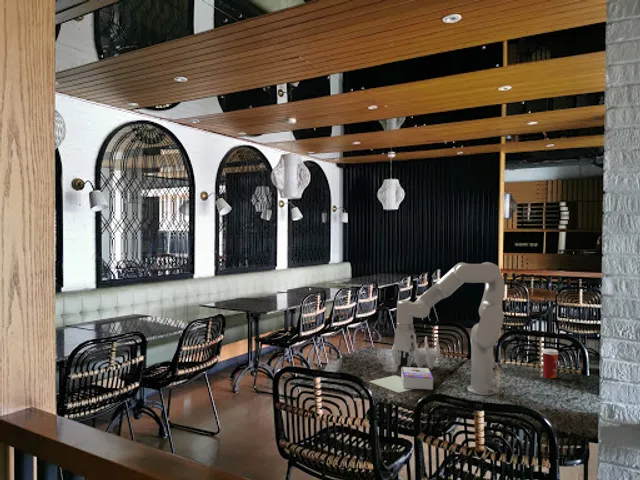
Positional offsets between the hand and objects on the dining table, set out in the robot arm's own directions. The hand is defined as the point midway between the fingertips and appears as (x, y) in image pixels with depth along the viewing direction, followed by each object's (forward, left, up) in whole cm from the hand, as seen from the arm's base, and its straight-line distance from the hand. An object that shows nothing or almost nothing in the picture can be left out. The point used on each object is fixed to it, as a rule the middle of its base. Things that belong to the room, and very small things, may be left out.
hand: (403, 365), depth 233 cm
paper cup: (-33, -73, -10) cm, 81 cm away
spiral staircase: (+19, -30, -10) cm, 37 cm away
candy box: (-8, -2, -7) cm, 11 cm away
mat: (+4, 0, -10) cm, 11 cm away
